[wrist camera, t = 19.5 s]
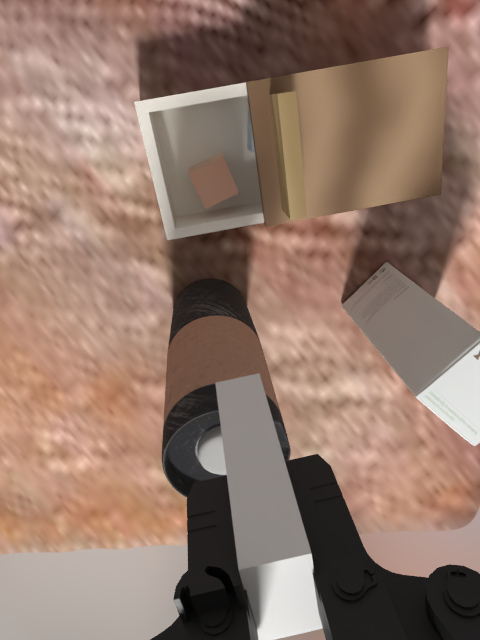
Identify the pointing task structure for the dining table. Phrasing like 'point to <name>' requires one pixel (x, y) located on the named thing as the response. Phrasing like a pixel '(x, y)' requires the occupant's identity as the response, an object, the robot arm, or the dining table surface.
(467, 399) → the skincare box
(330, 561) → the robot arm
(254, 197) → the keepsake box
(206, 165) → the cube terracotta
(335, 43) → the dining table surface
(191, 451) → the travel mug
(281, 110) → the lid
